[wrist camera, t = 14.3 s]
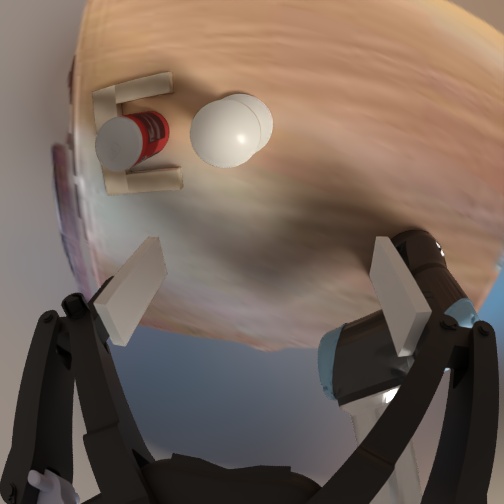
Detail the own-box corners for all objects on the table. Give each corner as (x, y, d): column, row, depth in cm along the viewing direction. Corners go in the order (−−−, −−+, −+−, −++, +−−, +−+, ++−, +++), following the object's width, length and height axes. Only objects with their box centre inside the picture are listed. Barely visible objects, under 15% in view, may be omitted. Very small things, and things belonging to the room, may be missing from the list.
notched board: (183, 186, 46) (179, 189, 45) (112, 192, 48) (107, 195, 46) (172, 72, 36) (168, 71, 35) (97, 91, 38) (92, 92, 36)
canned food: (126, 148, 43) (90, 163, 34) (138, 105, 39) (101, 111, 30) (162, 161, 44) (132, 179, 35) (177, 117, 40) (147, 124, 31)
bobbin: (273, 154, 42) (270, 175, 31) (211, 156, 43) (186, 178, 32) (271, 92, 37) (268, 88, 26) (207, 96, 38) (178, 96, 27)
